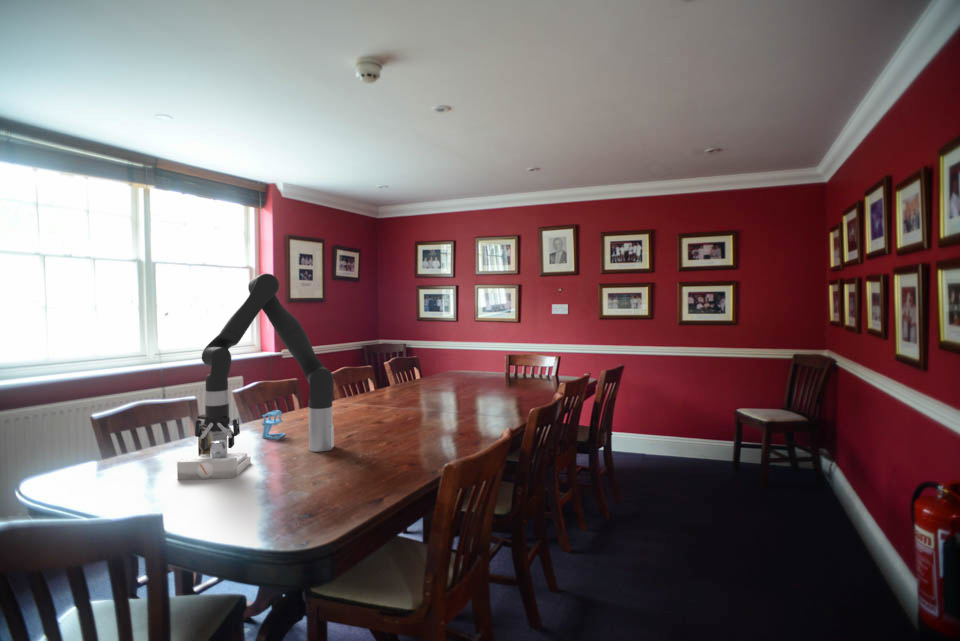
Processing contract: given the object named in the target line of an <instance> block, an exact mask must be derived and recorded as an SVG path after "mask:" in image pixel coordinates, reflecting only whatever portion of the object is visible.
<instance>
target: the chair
mask: <svg viewBox="0 0 960 641" xmlns="http://www.w3.org/2000/svg"><path fill="white" fill-rule="evenodd" d="M282 413H283V412H282V410H279V409H274V410H271V411H269V412H267V413H265V414H262V418H263V422H261V425H262V426H263V429H262V436H261V438H262V439H268V440H269V439H270V440H276V441H277V440H279V439H281V438H283V437H285V436H286V432H281V433H278V432H277V433H270V431H271V429H272V427H273V426H277V425H279V424H281V423H283V422H284V420H283V419H282V417H281V416H282ZM267 416H268V419H266V417H267ZM271 417H273V419H272V418H271ZM277 417H278V419H277Z"/></svg>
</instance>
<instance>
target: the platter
mask: <svg viewBox="0 0 960 641" xmlns="http://www.w3.org/2000/svg"><path fill="white" fill-rule="evenodd" d="M247 456H248V453H245V452H243V453H241V452H240V453H227V454H226V458H237V465H238V464H239V463H240V462H241V461H242V460H244V459H245V458H246V457H247ZM194 459H211V454H201V455H200V456H197V457H195V458H194Z"/></svg>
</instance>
